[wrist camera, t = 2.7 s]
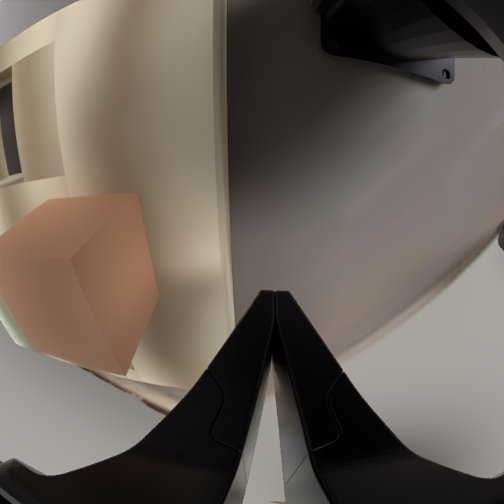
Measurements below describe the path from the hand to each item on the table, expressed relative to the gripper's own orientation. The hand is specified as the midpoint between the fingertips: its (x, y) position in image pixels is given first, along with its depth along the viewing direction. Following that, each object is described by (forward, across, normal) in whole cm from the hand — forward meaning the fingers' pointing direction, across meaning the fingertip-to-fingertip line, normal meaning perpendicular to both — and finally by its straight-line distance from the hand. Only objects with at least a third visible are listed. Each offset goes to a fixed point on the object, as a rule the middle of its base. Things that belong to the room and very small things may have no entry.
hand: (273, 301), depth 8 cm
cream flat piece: (+6, +13, 0) cm, 14 cm away
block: (+3, +8, 0) cm, 8 cm away
